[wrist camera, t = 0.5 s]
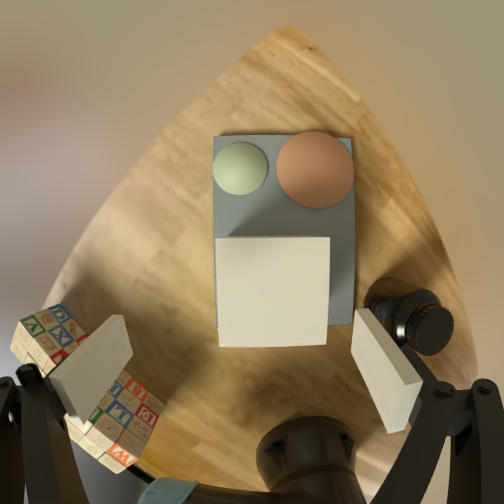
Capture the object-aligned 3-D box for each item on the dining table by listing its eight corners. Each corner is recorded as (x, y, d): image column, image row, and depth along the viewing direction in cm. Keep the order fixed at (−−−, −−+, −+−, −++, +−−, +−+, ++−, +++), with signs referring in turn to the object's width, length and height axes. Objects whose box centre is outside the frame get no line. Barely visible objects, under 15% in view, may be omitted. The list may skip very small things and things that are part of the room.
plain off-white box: (307, 314, 31) (326, 344, 22) (229, 315, 31) (219, 346, 23) (308, 235, 31) (329, 237, 22) (227, 236, 31) (215, 238, 22)
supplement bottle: (401, 268, 32) (459, 284, 20) (411, 315, 33) (464, 346, 21) (355, 288, 32) (401, 316, 20) (367, 336, 33) (410, 378, 21)
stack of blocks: (46, 328, 34) (-5, 354, 21) (60, 302, 33) (3, 324, 21) (145, 424, 34) (116, 476, 22) (167, 404, 34) (138, 460, 22)
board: (348, 320, 33) (363, 335, 27) (217, 324, 33) (211, 340, 28) (347, 137, 31) (361, 123, 26) (215, 135, 31) (208, 119, 26)
